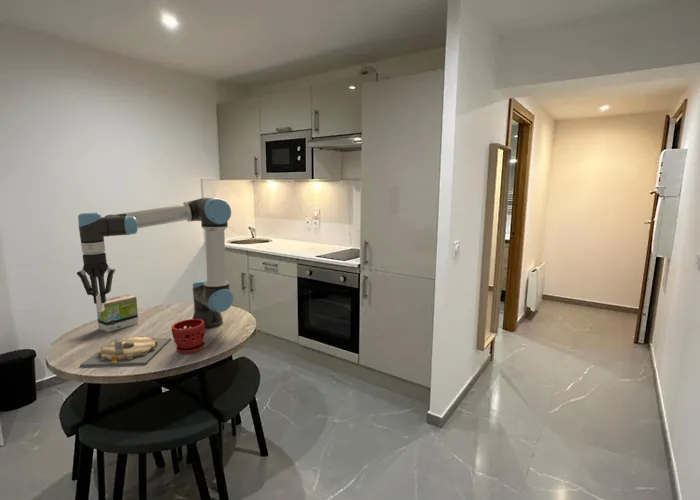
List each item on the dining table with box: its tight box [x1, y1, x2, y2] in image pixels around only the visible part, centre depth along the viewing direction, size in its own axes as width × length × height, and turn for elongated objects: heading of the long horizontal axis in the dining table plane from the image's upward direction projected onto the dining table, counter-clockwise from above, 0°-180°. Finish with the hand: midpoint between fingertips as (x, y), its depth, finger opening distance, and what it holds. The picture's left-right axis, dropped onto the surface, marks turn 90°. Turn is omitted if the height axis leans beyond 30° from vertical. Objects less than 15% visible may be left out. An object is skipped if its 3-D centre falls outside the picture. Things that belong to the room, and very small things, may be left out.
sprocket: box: [97, 335, 158, 361], centre depth 162 cm, size 22×22×6 cm
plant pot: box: [171, 318, 206, 355], centre depth 165 cm, size 13×13×12 cm
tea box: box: [95, 293, 139, 333], centre depth 193 cm, size 15×10×15 cm
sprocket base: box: [79, 337, 172, 368], centre depth 163 cm, size 25×25×2 cm
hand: (101, 311), depth 152 cm, fingers closed
